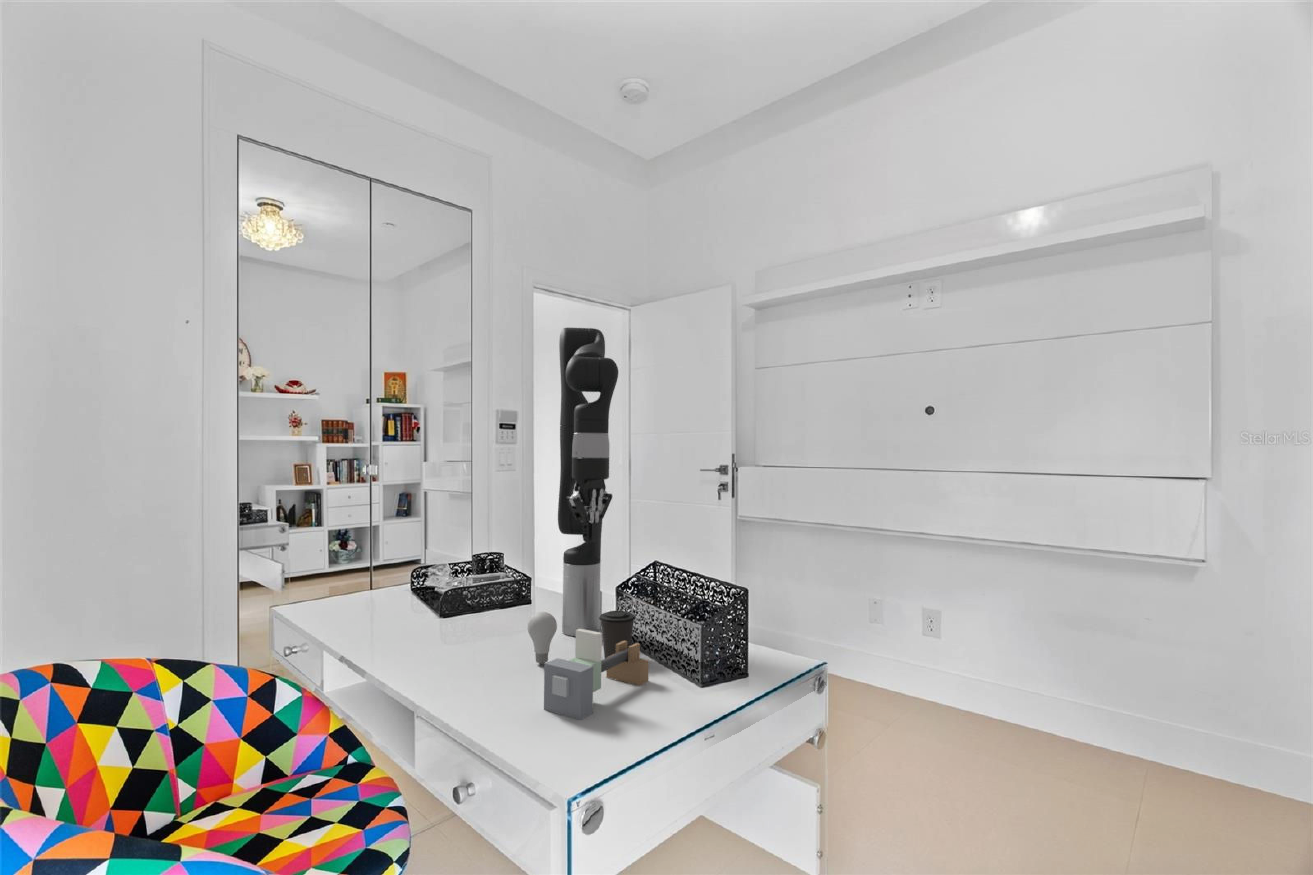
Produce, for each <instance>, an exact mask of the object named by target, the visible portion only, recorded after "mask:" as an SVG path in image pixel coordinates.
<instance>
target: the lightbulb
mask: <svg viewBox="0 0 1313 875" xmlns="http://www.w3.org/2000/svg"><path fill="white" fill-rule="evenodd" d="M557 623H558V622H557V620H556V618H555V616H553V614H551V613H550V612H547V611H538V612H536V613H534V614H533V615H532V616H531V617H530V619H529V620H528V622H527V633H528V634H529V637H530V638H531V641H532V642H533V648H534V653H535V662H536V663H537V664H539V665H540V664H541V665H545V663H547V662H549V661H548V659H549V652H550V648H551V643H552V640H553V638H554V636H555V634H556V633H557V631H558V630H557V629H558V624H557Z"/></svg>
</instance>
